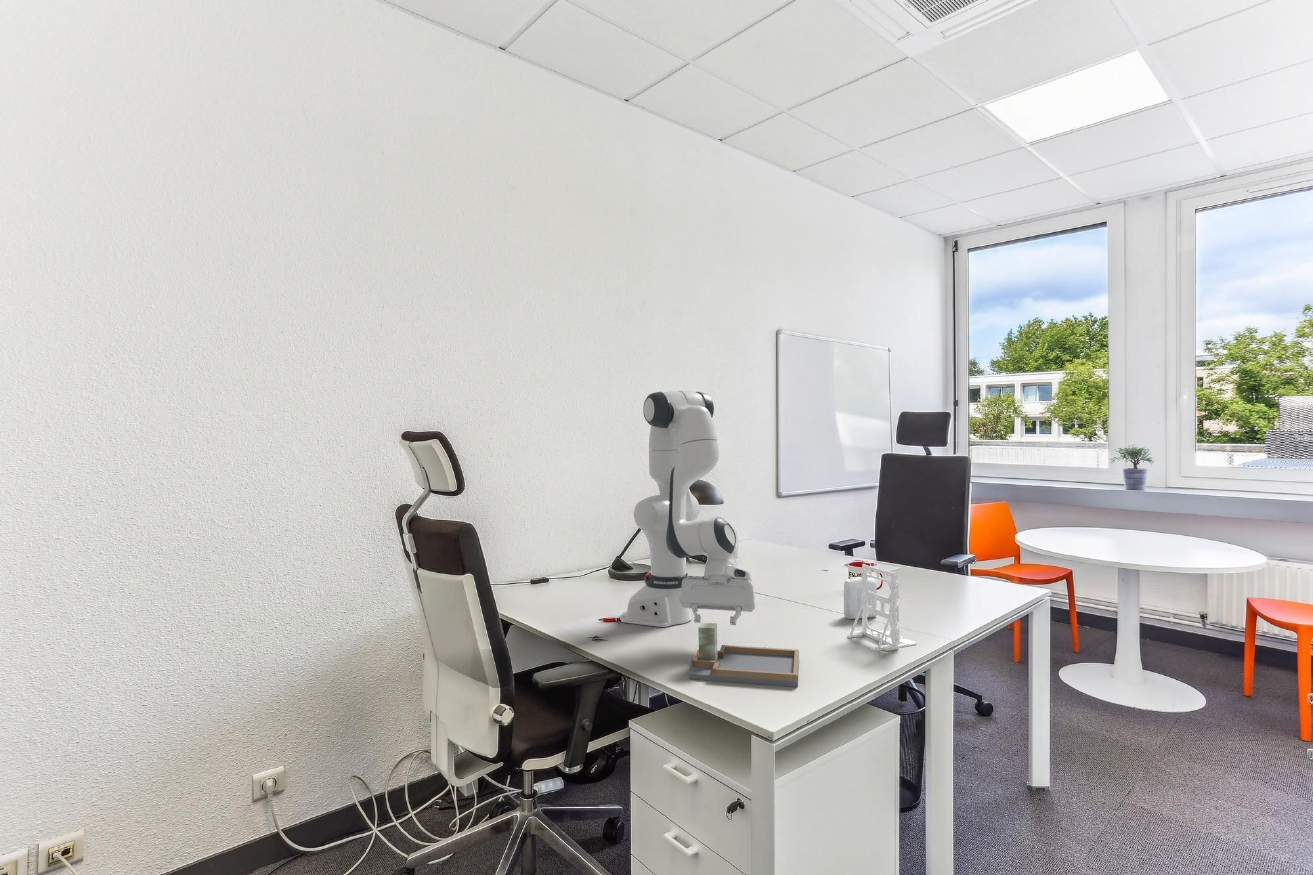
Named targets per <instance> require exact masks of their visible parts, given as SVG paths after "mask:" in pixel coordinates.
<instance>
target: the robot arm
mask: <svg viewBox="0 0 1313 875" xmlns="http://www.w3.org/2000/svg"><path fill="white" fill-rule="evenodd" d="M714 412H715V405H714V402H713V399H712V397H711V396H710V395H709V394H708V393H705V392H700V391H696V392H695V391H688V390H676V391H675V390H674V391H656V392H652V393H650V394H648V395H647V396H646V398H645V400H644V402H643V411H642V413H643V418H644V420H645V421H646V423H647V424H648V425H650V429H649V430H650V431H649V437H648V440H649V442H648V466H649V467H648V468H649V470H648V471H649V475H650V477H651V479H652V480H654V481H655V482H656V484H657V487H658V490H659V494H658V495H651V496H648V497H646V498H643V499H642V500H640V501H638V502H637V503H636V504H635V506H634V509H633V519H634V522H635V524H636V527H637V528H639V530H641V531H642V532H643V534H644V535H645V537H646V540H647V544H648V547H649V553H650V570H649V571H648V572H647V573H646V574H645V576H644V578H643V579H644V586H642V587H641V588H640V589H638V591H636V592H635V593H633V595H631V597H629V600H628V603H627V609H626V610H624V611H623V612H622V613H621V615H620V617H619V618H620V619H619V620H621V621H620V622H621V623H626V624H633V625H642V626H650V627H659V628H668V627H670V626H675V625H682V624H685V623H688V622H690V621H692V620H693V621H694V623H695V624H701V623H702V622H701V620H702V616H701V614H699V613H697V612H698V611H699V610H709V611H711V610H712V611H713V610H714V611H732V612H735V613H734V615H730V617H729V619H730V620H729V624H730V626H737V621H738V619H739V618H740V616H742V612H747V613H751V612H753V611H755V609H756V596H755V590H754V585H753V581H752V576H751V573H750V572H749V571H747V570H744V569H742V568H738V567H737V560H738V557H739V537H738V531H737V530H736V528H735V527H734V526H733V525H732V524H730V523H729V522H728V521H726V520H725V519H724V517H723V518H722V517H721V516H712V517H711V516H710V517H706V518H701V519H697V518H698V517H699V515H700V508H701V507H700V504H699V501H698V499H697V498H696V497H695V496H694V495H693V493H692V492H691V490H690V487H691V486H692V485H693V484H694V483H695V482H697V481H698V480H700V479H701V478H703V477H705V476H706V475H708V474H709V473H710V472H711V471H712V470H713V469H714V468H715V466H716V465H717V463H718V461H719V456H720V455H719V454H720V453H719V443H718V437H717V431H716V428H715V424H714V421H713V416H714ZM700 555H706V557H707V560H706V561H705V564H704V572H703V575H702V576H701V575H695V576H694V575H688V572H687V558H689V557H693V556H700ZM691 612H692V613H693V615H692V613H691ZM693 616H694V618H693Z"/></svg>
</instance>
